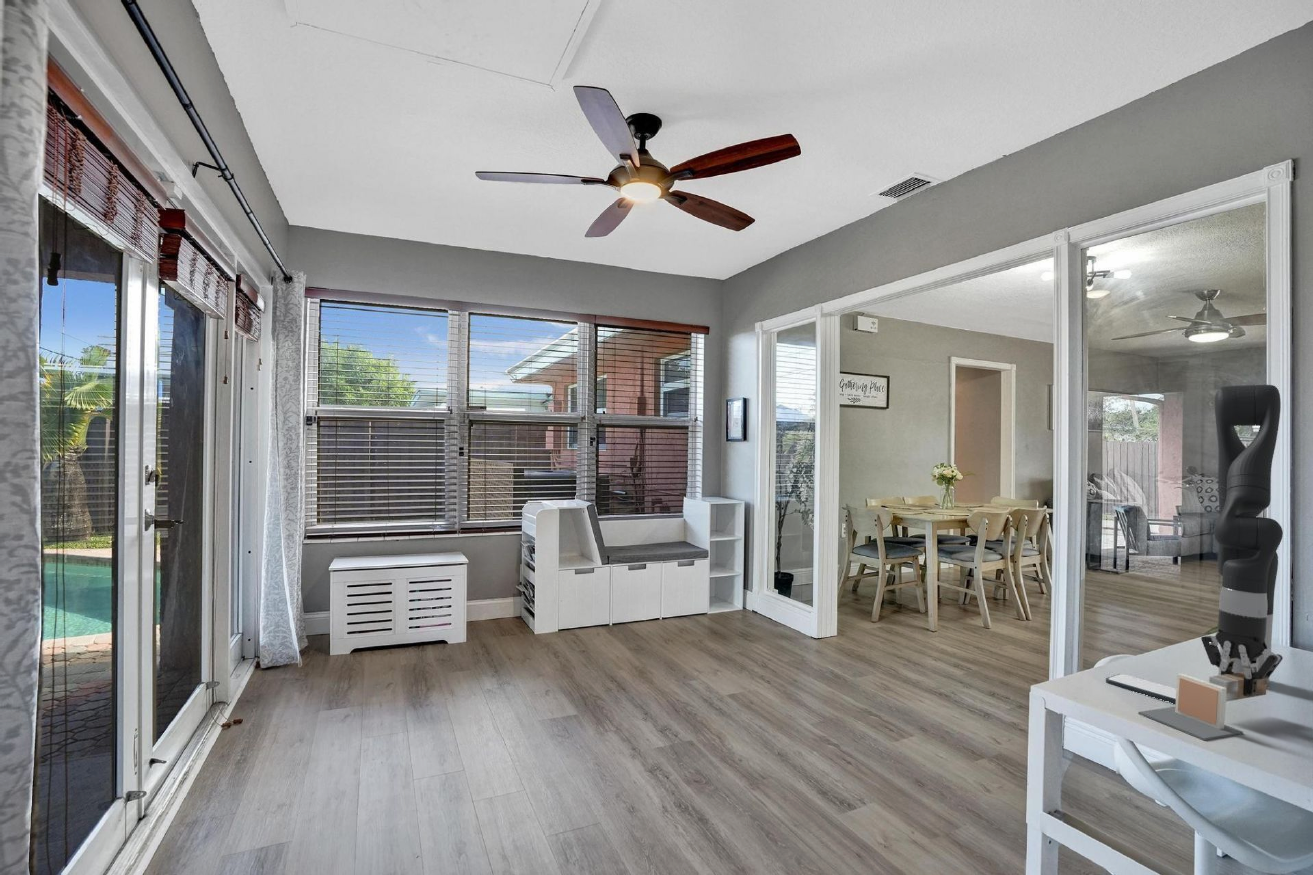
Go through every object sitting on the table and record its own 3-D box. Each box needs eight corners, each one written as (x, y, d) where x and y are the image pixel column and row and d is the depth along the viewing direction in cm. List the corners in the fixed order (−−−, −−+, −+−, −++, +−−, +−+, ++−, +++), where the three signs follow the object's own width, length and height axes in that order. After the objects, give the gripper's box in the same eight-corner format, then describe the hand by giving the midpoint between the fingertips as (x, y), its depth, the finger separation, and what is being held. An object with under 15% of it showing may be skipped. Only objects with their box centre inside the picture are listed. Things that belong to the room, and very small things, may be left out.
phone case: (1103, 685, 154) (1186, 710, 140) (1103, 678, 154) (1186, 702, 140) (1120, 679, 159) (1202, 702, 145) (1120, 672, 159) (1202, 695, 145)
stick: (1249, 688, 142) (1250, 670, 142) (1266, 694, 139) (1267, 675, 139) (1208, 695, 137) (1209, 676, 137) (1225, 701, 134) (1226, 682, 134)
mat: (1175, 708, 140) (1176, 706, 140) (1242, 733, 129) (1243, 731, 129) (1138, 713, 136) (1138, 711, 136) (1204, 740, 125) (1204, 738, 125)
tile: (1179, 711, 137) (1182, 673, 137) (1224, 728, 130) (1226, 688, 130) (1174, 712, 137) (1176, 673, 137) (1218, 729, 129) (1221, 688, 129)
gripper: (1295, 619, 132) (1289, 704, 133) (1215, 600, 145) (1210, 678, 146) (1273, 621, 130) (1267, 708, 130) (1193, 602, 143) (1188, 681, 143)
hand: (1237, 691), depth 138 cm, fingers closed on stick, 3 cm apart
